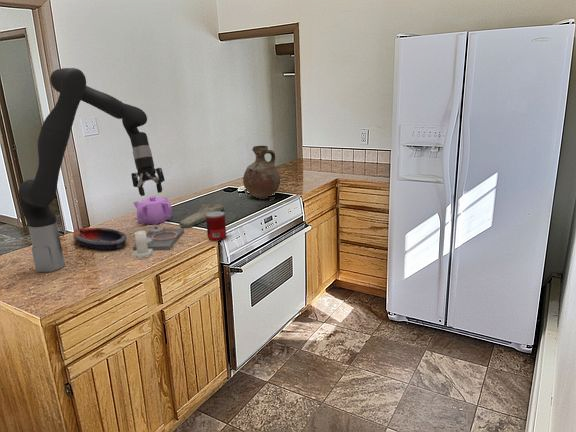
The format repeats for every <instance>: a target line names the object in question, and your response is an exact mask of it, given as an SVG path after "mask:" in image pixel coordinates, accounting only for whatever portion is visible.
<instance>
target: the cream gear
mask: <svg viewBox="0 0 576 432" xmlns="http://www.w3.org/2000/svg"><path fill="white" fill-rule="evenodd" d="M146 234H147V231H146V230H137V231H135V232H134V238H135V244H136V247H137V250H132V258H133V259H139V260H141V259H145V258H146V259H147V258H149V257H151V256H153V255H154V250H153V249H148V245H147V237H146Z"/></svg>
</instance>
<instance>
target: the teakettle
mask: <svg viewBox="0 0 576 432" xmlns="http://www.w3.org/2000/svg"><path fill="white" fill-rule="evenodd" d="M133 205H134V207H135V208H136V219H137V220H136V221H137V223H138V224H140V223H144V224H143V225H150V224H157V225H160V224H162V223H164V221H165V222H167V221H168V220H170V219H171V217H172V214H173V211H172V204H171V202H170V201H169V200H168V197H165V196H164V197H157V196H154V195H152V196H149V197H148V198H146V199H142V200H141V201H139V202H138V201H134V202H133ZM166 220H167V221H166ZM161 222H162V223H161ZM159 223H160V224H159Z"/></svg>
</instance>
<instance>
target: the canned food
mask: <svg viewBox="0 0 576 432" xmlns="http://www.w3.org/2000/svg"><path fill="white" fill-rule="evenodd" d="M205 222H206V230H207V239H208V240H210V241H222V240H225V239H226V237H227V227H226V215H225V212H224V211H221V212H220V211H215V212H209V213H207V214H206V221H205Z"/></svg>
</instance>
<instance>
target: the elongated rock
mask: <svg viewBox="0 0 576 432" xmlns="http://www.w3.org/2000/svg"><path fill="white" fill-rule="evenodd" d="M223 210H224V205H223V204H219V203H218V204H217V203H216V204H215V203H214V204H213V203H212V204H211V203H207V204H205V203H204V204H201V206H200V209H198V210H197V212H195V213H193V214H191V215H188V216H187V217H185V218H183V219H181V220H180V222H179V226H180V229H183V228H184V229H190V228H192V227H195V226H196V225H199V224H201V223H203V222H206V214H207V213H209V212H215V211H220V212H223Z"/></svg>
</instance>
